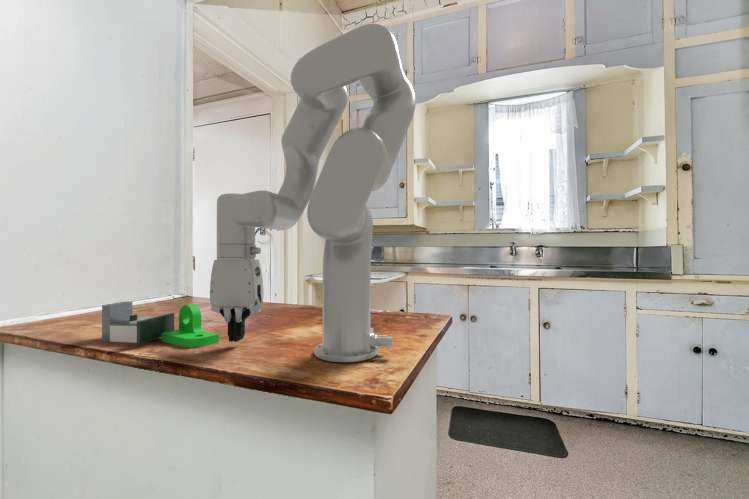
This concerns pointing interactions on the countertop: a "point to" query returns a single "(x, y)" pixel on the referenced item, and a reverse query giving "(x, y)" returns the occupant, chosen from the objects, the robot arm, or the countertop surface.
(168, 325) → the dark green piece
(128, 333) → the gauge housing
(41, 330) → the countertop surface
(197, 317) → the mechanical part
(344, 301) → the robot arm
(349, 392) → the countertop surface
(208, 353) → the countertop surface
